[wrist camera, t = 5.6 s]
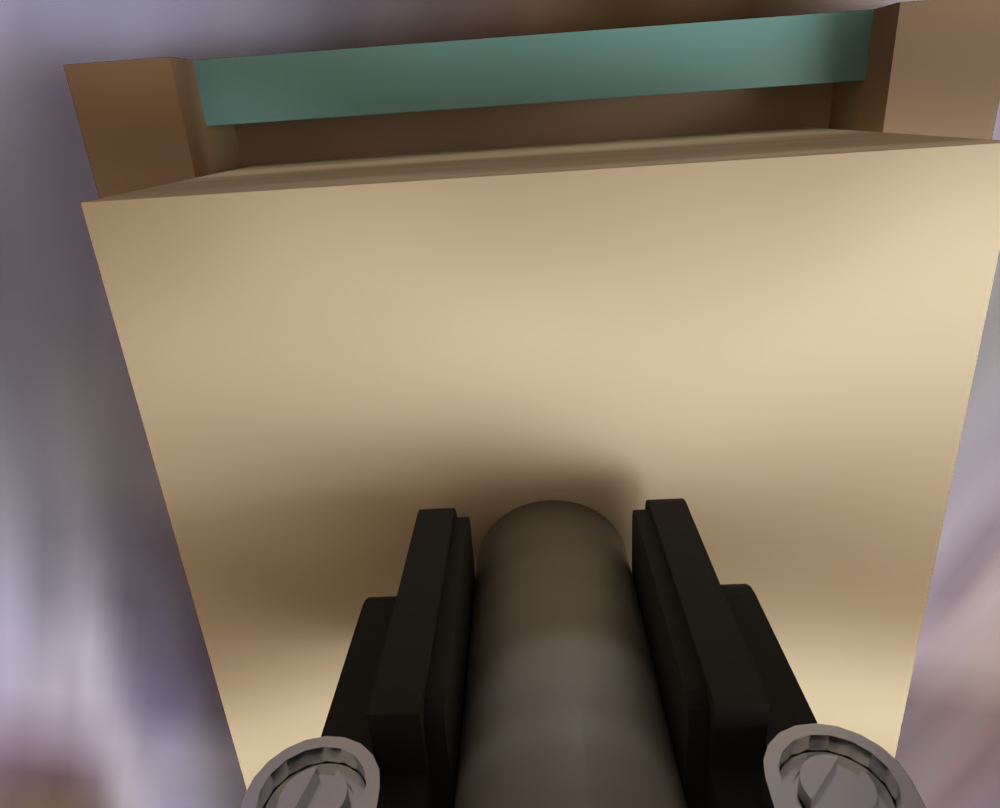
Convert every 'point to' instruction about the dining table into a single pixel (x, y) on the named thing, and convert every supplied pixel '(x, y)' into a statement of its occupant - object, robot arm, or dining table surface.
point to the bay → (544, 91)
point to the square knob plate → (560, 416)
